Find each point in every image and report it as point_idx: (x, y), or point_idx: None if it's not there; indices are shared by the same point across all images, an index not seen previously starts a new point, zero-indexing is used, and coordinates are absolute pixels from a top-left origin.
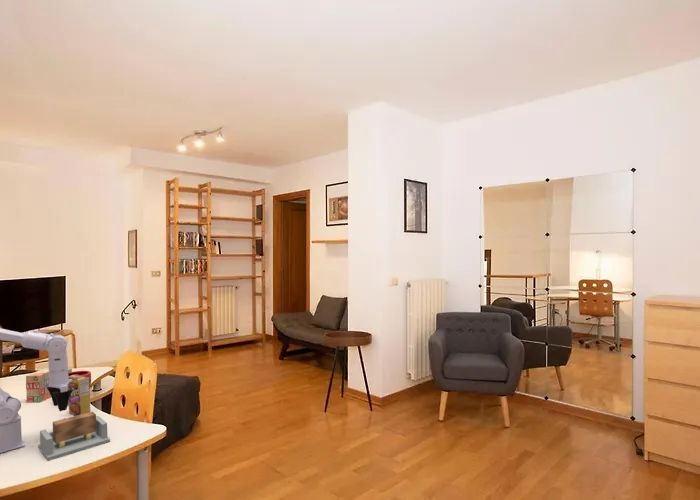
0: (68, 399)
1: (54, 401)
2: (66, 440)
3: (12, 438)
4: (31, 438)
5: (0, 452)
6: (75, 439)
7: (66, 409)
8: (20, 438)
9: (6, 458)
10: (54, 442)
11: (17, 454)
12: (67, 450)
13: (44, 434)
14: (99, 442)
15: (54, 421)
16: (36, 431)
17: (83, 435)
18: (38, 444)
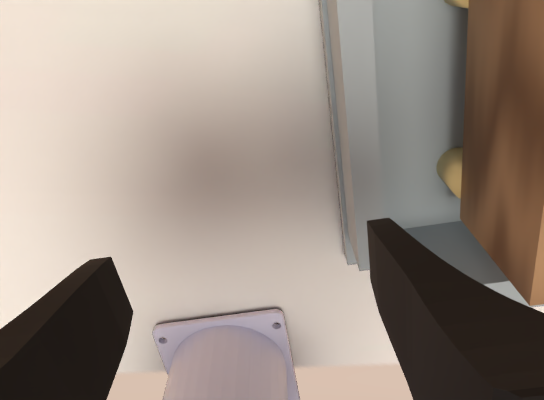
0: (477, 283)
1: (113, 355)
2: (419, 124)
3: (285, 397)
4: (164, 281)
5: (296, 385)
6: (452, 67)
7: (388, 218)
8: (248, 352)
9: (382, 361)
10: (391, 190)
11: (368, 329)
12: None
13: (518, 301)
14: None
15: (534, 293)
16: (48, 260)
17: (415, 3)
18: (351, 264)
